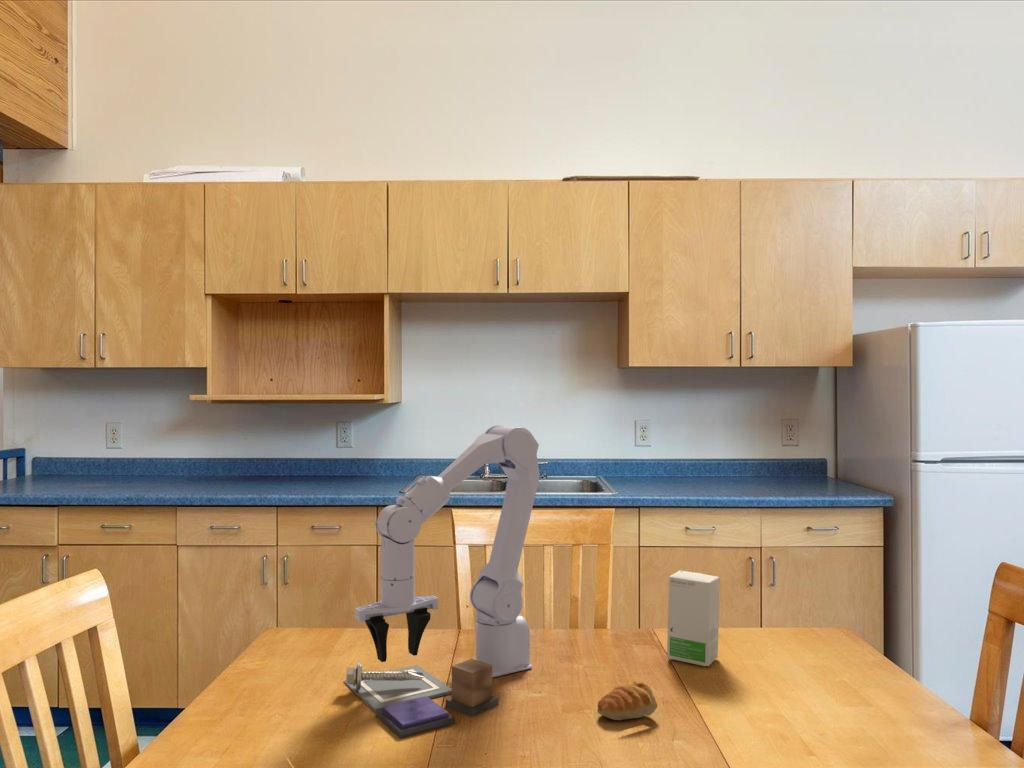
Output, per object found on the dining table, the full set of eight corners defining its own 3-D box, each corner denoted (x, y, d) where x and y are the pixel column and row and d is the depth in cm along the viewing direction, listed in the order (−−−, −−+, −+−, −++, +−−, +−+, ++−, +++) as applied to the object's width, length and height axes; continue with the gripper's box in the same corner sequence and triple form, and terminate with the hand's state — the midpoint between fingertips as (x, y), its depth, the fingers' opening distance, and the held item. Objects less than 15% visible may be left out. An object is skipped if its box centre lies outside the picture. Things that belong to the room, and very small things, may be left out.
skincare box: (666, 659, 144) (665, 576, 144) (678, 649, 150) (677, 569, 150) (710, 667, 140) (709, 582, 140) (720, 656, 145) (720, 574, 146)
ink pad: (428, 703, 124) (428, 693, 124) (454, 723, 116) (454, 713, 116) (376, 716, 119) (376, 706, 119) (400, 738, 112) (400, 727, 112)
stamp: (471, 695, 127) (471, 656, 127) (498, 705, 123) (498, 665, 123) (445, 706, 123) (445, 666, 123) (472, 717, 119) (472, 675, 119)
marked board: (417, 667, 140) (417, 664, 140) (453, 693, 128) (453, 689, 128) (343, 683, 132) (343, 680, 132) (375, 712, 121) (375, 708, 121)
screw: (345, 696, 125) (347, 666, 125) (345, 685, 130) (347, 656, 130) (424, 696, 128) (426, 666, 128) (422, 685, 133) (424, 657, 133)
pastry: (615, 728, 114) (615, 702, 114) (586, 711, 120) (586, 687, 120) (660, 712, 119) (661, 688, 119) (631, 697, 125) (631, 674, 125)
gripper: (425, 567, 138) (425, 642, 138) (348, 577, 130) (348, 658, 130) (443, 574, 132) (443, 654, 132) (364, 586, 124) (364, 670, 124)
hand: (397, 657), depth 130 cm, fingers open, 5 cm apart
